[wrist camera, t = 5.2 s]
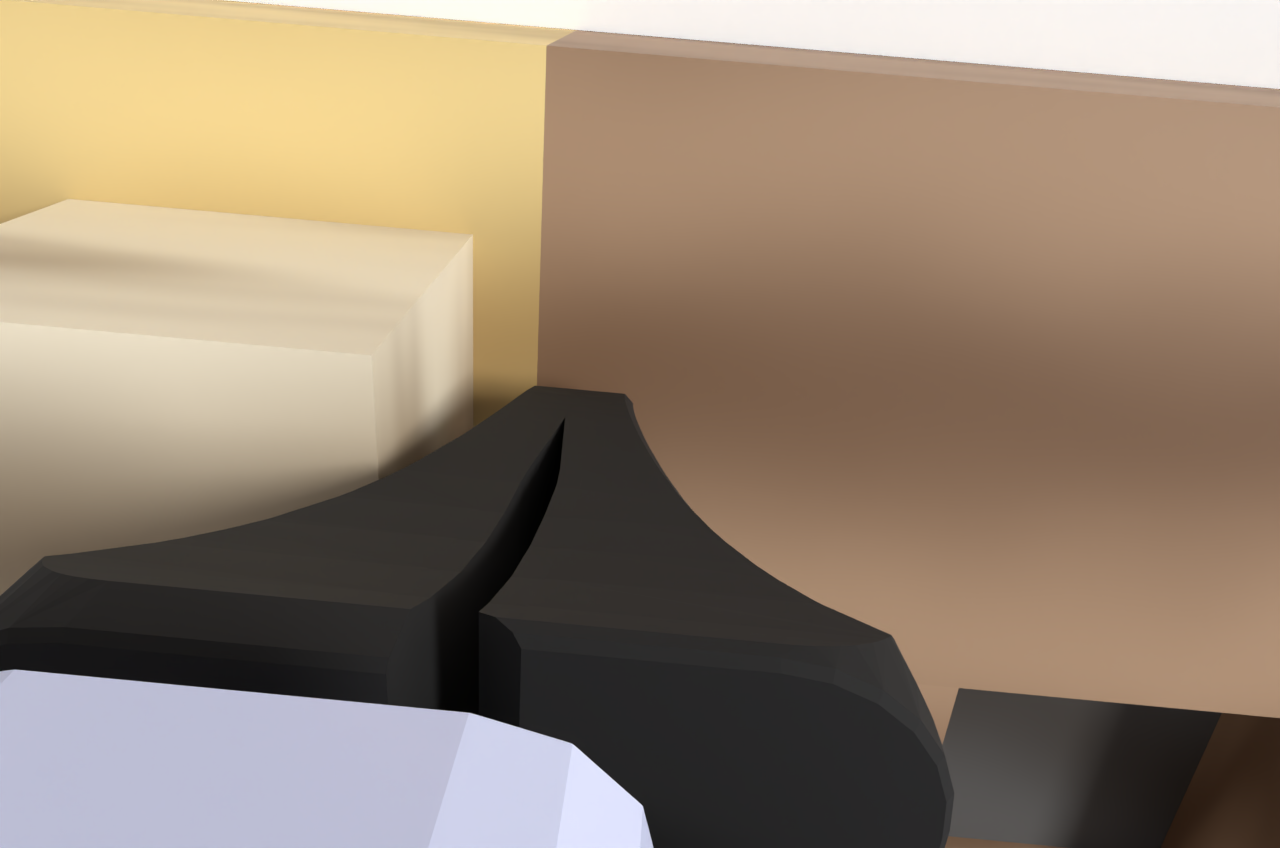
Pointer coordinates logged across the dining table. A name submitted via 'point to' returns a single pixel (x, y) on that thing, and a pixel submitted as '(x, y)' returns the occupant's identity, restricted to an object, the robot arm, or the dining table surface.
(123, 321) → the maple block
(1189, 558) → the board
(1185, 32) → the dining table surface
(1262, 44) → the dining table surface
